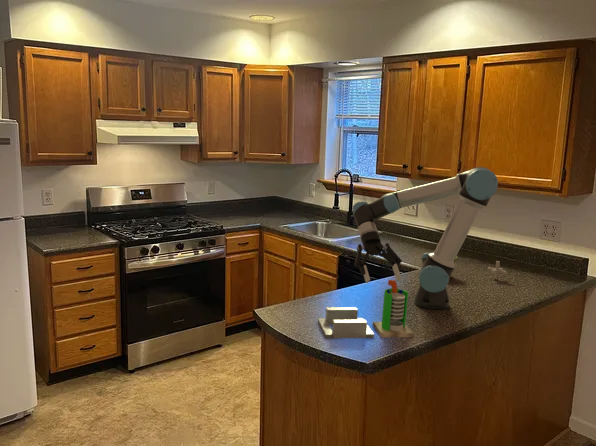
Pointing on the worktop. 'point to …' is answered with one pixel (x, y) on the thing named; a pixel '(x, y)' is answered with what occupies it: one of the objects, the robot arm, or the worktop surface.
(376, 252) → the robot arm
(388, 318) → the green-shelled ribbed roller
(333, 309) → the vise
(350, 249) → the worktop surface
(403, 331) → the board
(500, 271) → the pipe connector
